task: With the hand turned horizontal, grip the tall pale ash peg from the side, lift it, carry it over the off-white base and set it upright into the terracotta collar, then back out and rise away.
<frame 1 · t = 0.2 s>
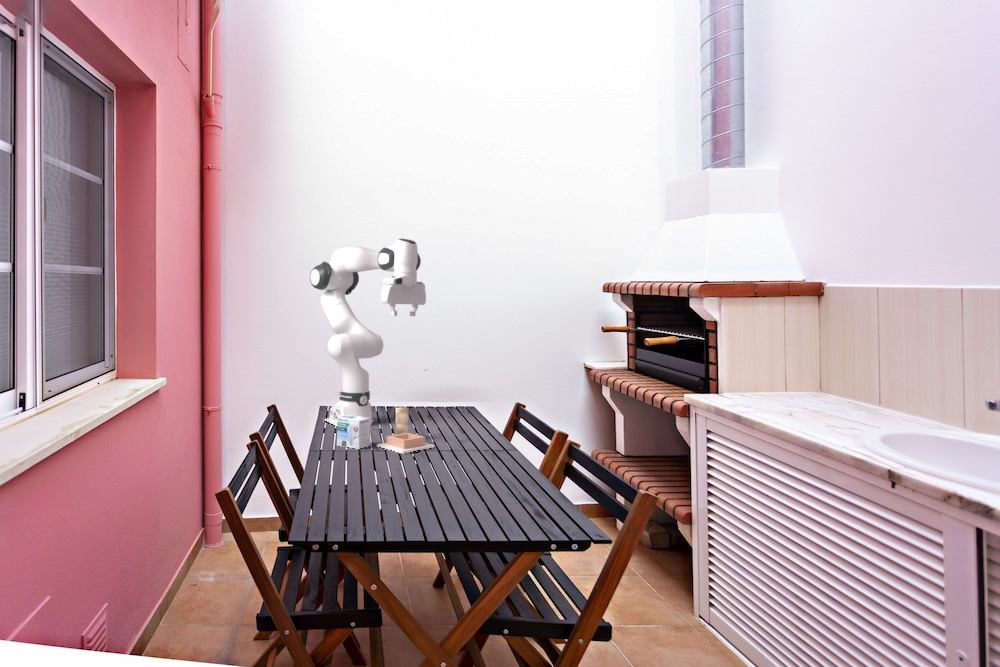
hand: (403, 315, 278), 47 cm above the table, tool pointing down, fingers open, 8 cm apart
light bulb box: (353, 446, 261), on the table
ash peg: (401, 439, 275), on the table
collar base: (405, 447, 261), on the table
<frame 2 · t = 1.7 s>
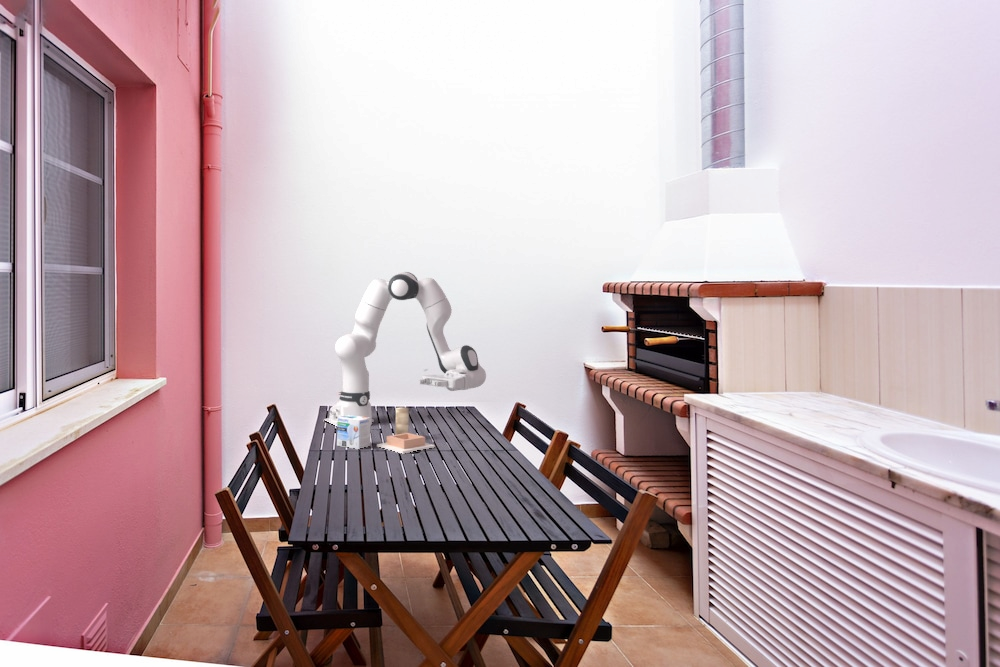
hand: (428, 383, 283), 21 cm above the table, tool horizontal, fingers open, 8 cm apart
nothing on the table moved.
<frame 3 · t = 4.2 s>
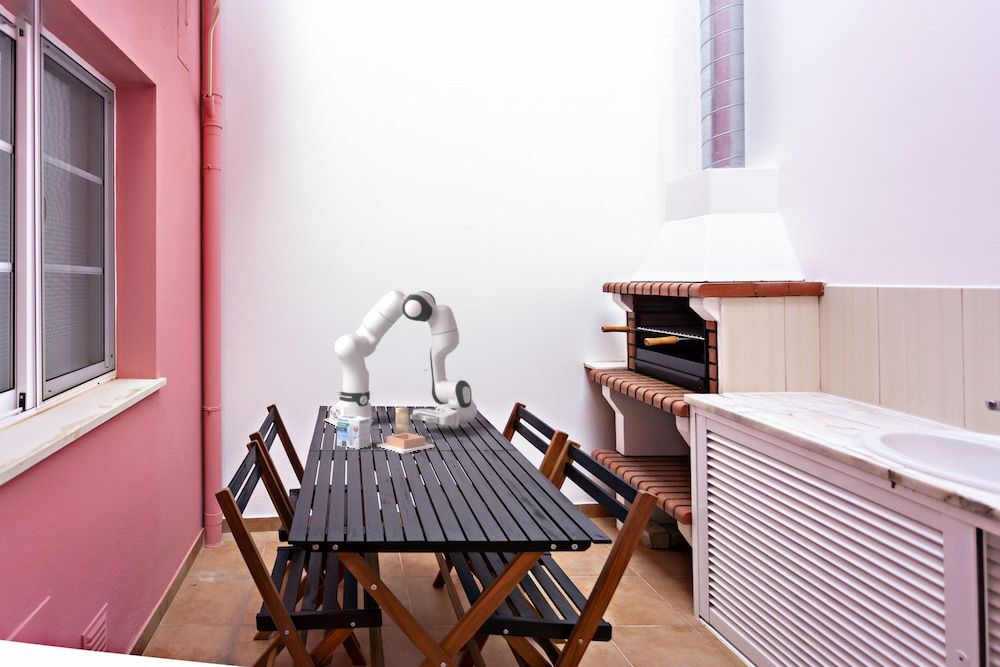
hand: (418, 418, 281), 7 cm above the table, tool horizontal, fingers open, 8 cm apart
nothing on the table moved.
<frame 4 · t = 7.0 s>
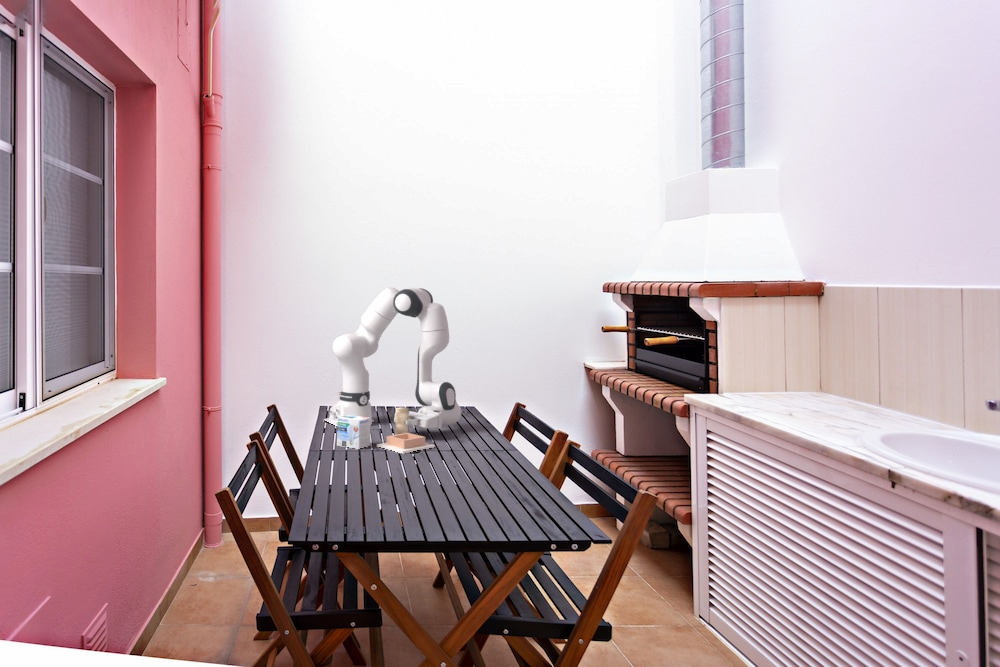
hand: (400, 421, 274), 7 cm above the table, tool horizontal, fingers closed on ash peg, 5 cm apart
ash peg: (401, 439, 275), on the table, touching gripper
everything else where it was.
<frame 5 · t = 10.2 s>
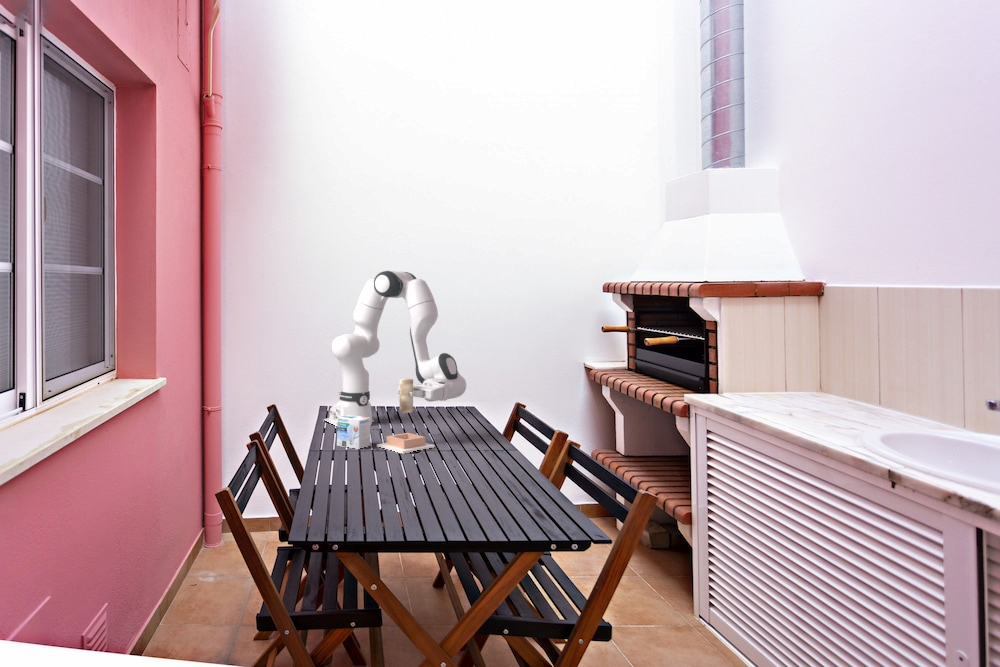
hand: (404, 393, 265), 19 cm above the table, tool horizontal, fingers closed on ash peg, 5 cm apart
ash peg: (406, 411, 266), point 12 cm above the table, touching gripper
everything else where it was.
when the fingers open (9 cm above the table, at t = 13.8 s): ash peg drops 1 cm, resting on collar base.
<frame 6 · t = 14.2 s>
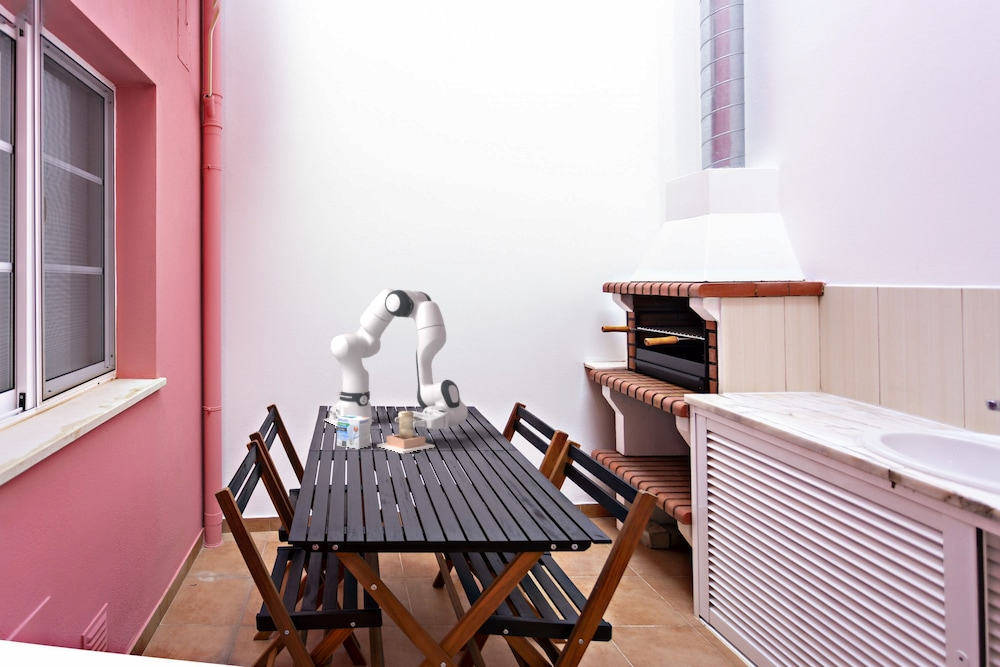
hand: (404, 422, 260), 9 cm above the table, tool horizontal, fingers open, 8 cm apart
ash peg: (405, 444, 261), point 1 cm above the table, touching collar base
everything else where it was.
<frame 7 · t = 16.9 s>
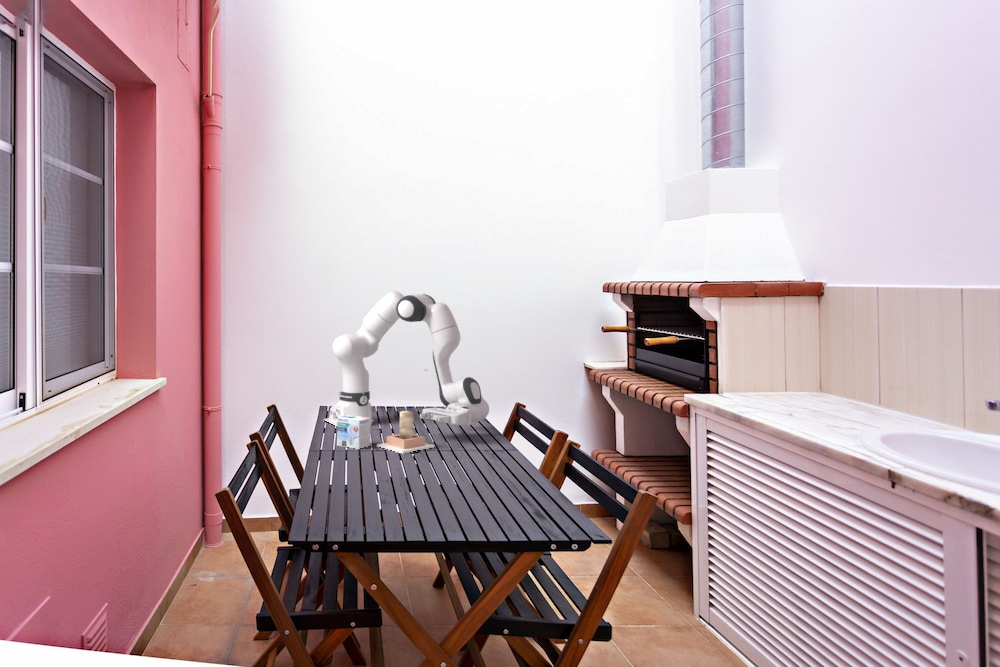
hand: (429, 418, 268), 10 cm above the table, tool horizontal, fingers open, 8 cm apart
nothing on the table moved.
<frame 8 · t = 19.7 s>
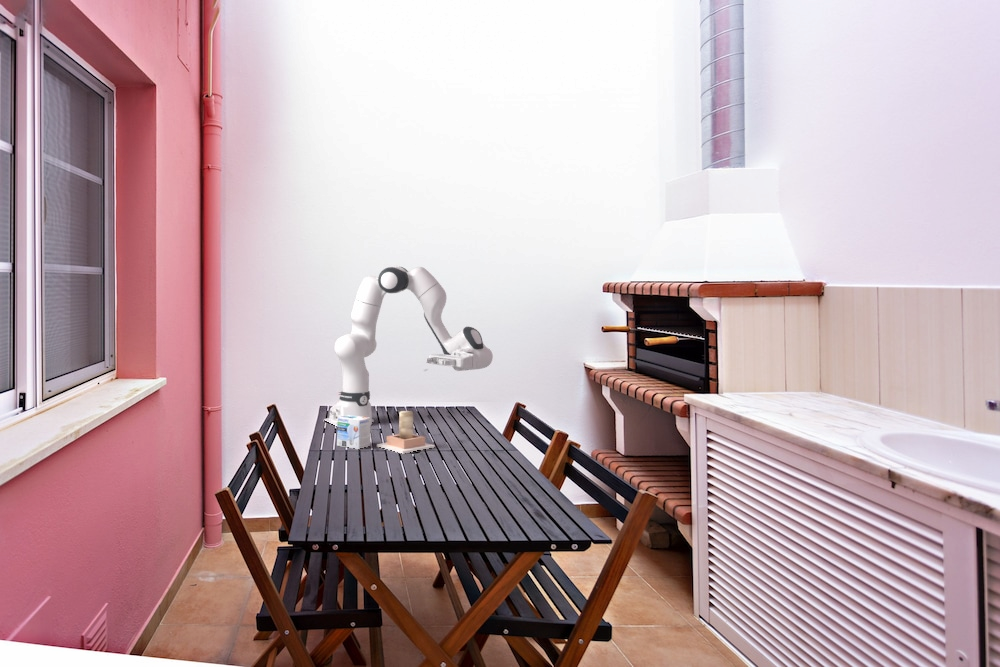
hand: (435, 361, 277), 30 cm above the table, tool horizontal, fingers open, 8 cm apart
nothing on the table moved.
at the end: ash peg 0.0 cm off-centre on the collar base, point 1.1 cm above the collar base's base; ash peg tilted 1°; the gripper is holding nothing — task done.
